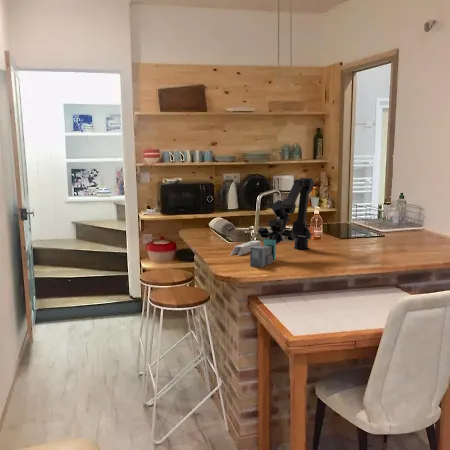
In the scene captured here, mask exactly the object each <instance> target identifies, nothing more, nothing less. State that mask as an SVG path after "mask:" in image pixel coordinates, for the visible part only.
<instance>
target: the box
mask: <svg viewBox="0 0 450 450" xmlns="http://www.w3.org/2000/svg"><path fill="white" fill-rule="evenodd" d="M253 246H258V247H262V241H261V240H252V241H248V242H245V243H240V244H238V245H235V246H234V247H233V249H232V251H231V253H230V255H229V256H233V255H235V254H237V257H239V256H242V255H246V254H248V253H250V247H253Z"/></svg>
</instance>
